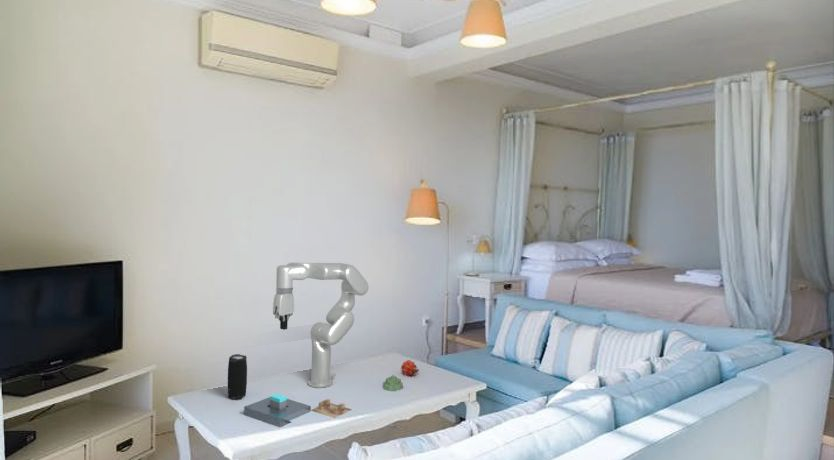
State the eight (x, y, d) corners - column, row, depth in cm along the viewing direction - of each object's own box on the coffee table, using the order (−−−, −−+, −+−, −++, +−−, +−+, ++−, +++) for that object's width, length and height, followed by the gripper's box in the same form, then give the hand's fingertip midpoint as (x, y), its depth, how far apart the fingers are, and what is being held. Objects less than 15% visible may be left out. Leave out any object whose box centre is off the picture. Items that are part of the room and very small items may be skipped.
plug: (276, 411, 242) (276, 393, 242) (286, 414, 239) (286, 396, 238) (269, 414, 239) (270, 396, 238) (279, 417, 235) (279, 399, 235)
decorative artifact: (393, 383, 285) (378, 387, 278) (393, 370, 285) (379, 374, 278) (406, 388, 278) (392, 392, 271) (407, 375, 278) (392, 379, 271)
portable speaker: (230, 401, 251) (230, 360, 250) (225, 395, 259) (226, 354, 258) (248, 398, 255) (249, 357, 254) (243, 392, 263) (244, 352, 262)
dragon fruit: (404, 374, 306) (414, 383, 296) (394, 366, 302) (404, 376, 292) (414, 361, 307) (424, 370, 297) (404, 354, 303) (413, 363, 293)
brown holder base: (328, 404, 252) (328, 396, 252) (352, 411, 245) (352, 402, 244) (310, 412, 242) (310, 403, 242) (334, 420, 234) (334, 411, 234)
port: (275, 402, 252) (275, 395, 252) (310, 413, 240) (310, 406, 240) (244, 414, 237) (244, 406, 237) (280, 427, 225) (280, 418, 225)
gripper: (289, 288, 269) (289, 325, 270) (267, 292, 256) (266, 330, 257) (301, 290, 265) (300, 327, 266) (278, 294, 252) (277, 333, 253)
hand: (283, 328), depth 262 cm, fingers closed
